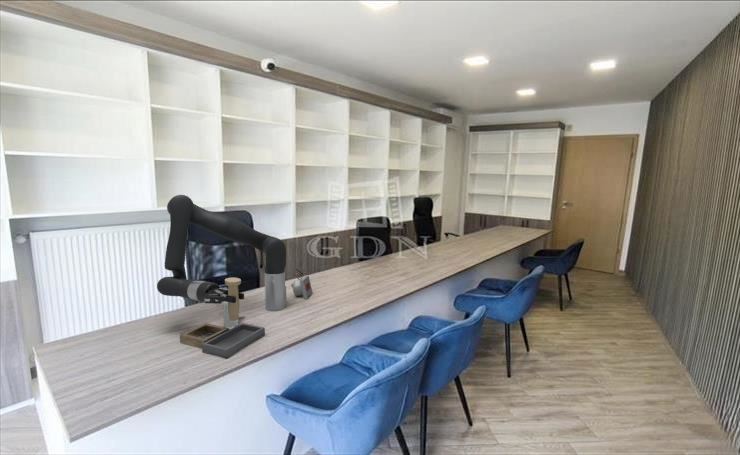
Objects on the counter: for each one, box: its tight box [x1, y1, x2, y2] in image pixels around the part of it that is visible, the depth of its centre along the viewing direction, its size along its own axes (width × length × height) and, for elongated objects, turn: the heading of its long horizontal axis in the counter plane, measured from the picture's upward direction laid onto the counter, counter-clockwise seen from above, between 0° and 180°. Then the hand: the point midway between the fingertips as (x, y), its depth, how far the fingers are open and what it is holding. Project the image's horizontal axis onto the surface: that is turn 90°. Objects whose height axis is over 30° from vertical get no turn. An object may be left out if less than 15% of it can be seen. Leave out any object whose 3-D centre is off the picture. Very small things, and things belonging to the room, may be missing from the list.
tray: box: [201, 322, 266, 359], centre depth 131 cm, size 20×11×3 cm, turn 158°
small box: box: [222, 302, 239, 328], centre depth 149 cm, size 8×6×10 cm
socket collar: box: [179, 322, 230, 349], centre depth 134 cm, size 12×12×3 cm
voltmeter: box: [290, 268, 313, 300], centre depth 191 cm, size 27×11×10 cm, turn 29°
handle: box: [224, 277, 242, 321], centre depth 129 cm, size 5×6×15 cm
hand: (239, 298), depth 128 cm, fingers closed on handle, 3 cm apart
